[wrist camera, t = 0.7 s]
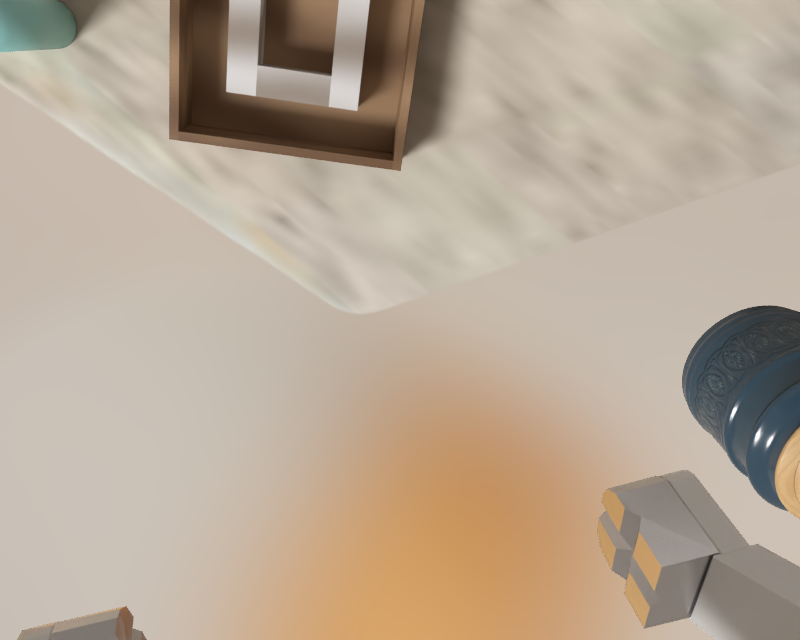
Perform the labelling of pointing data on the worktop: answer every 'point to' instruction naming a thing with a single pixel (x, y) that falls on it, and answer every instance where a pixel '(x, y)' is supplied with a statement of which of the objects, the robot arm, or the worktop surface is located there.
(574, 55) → the worktop surface
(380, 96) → the box
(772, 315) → the canister
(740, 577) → the robot arm
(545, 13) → the worktop surface
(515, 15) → the worktop surface
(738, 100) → the worktop surface
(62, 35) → the peg
